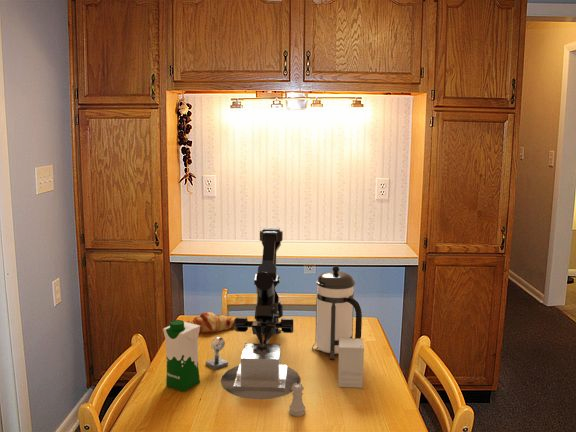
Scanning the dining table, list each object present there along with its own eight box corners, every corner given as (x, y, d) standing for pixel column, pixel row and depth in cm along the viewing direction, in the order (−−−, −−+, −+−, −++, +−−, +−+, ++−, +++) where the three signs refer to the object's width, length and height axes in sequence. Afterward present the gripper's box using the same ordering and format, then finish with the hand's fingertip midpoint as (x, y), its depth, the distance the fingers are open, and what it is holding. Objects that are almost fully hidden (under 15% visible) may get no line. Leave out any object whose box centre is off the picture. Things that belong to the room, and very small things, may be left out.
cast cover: (239, 367, 175) (239, 339, 173) (287, 368, 174) (287, 341, 173) (233, 390, 160) (233, 360, 159) (284, 391, 160) (285, 361, 158)
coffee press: (307, 359, 182) (308, 271, 176) (316, 340, 197) (317, 259, 192) (359, 365, 178) (363, 275, 172) (365, 346, 193) (368, 262, 188)
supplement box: (362, 377, 170) (363, 338, 167) (362, 388, 162) (364, 348, 160) (337, 375, 170) (338, 337, 168) (337, 387, 163) (338, 346, 161)
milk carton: (161, 386, 162) (159, 321, 159) (182, 374, 170) (180, 312, 166) (184, 394, 158) (183, 328, 154) (204, 382, 165) (203, 318, 162)
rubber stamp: (218, 360, 180) (218, 332, 178) (227, 365, 177) (227, 336, 175) (205, 364, 177) (205, 336, 175) (215, 370, 173) (214, 341, 171)
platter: (265, 356, 184) (265, 355, 184) (317, 381, 167) (317, 380, 167) (205, 378, 168) (205, 377, 168) (255, 408, 150) (255, 408, 150)
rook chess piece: (288, 408, 151) (288, 381, 149) (304, 408, 151) (304, 380, 150) (289, 417, 146) (289, 389, 145) (306, 416, 147) (306, 388, 145)
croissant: (237, 333, 213) (236, 312, 215) (241, 329, 203) (240, 308, 206) (181, 336, 207) (181, 315, 210) (183, 333, 198) (182, 311, 200)
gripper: (234, 292, 175) (230, 339, 166) (293, 294, 174) (292, 341, 165) (237, 308, 184) (233, 353, 175) (293, 309, 183) (292, 354, 174)
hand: (262, 350), depth 172 cm, fingers closed, pressing on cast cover
